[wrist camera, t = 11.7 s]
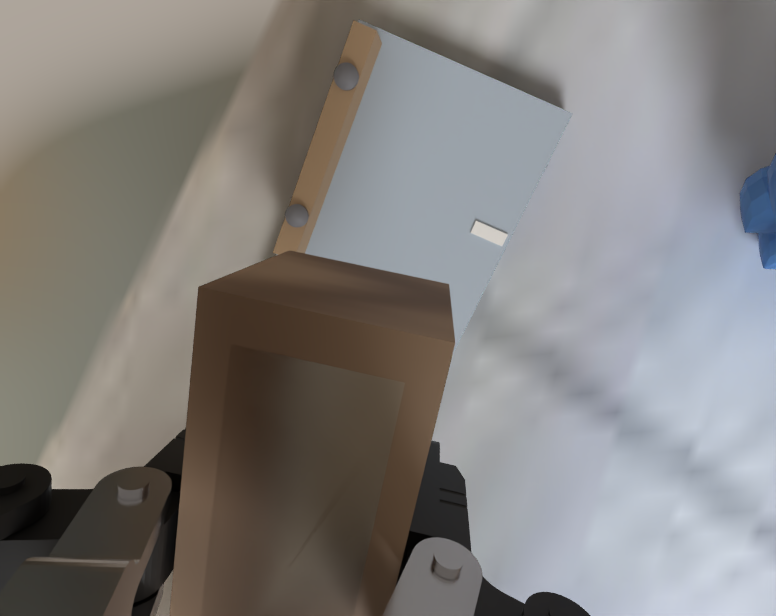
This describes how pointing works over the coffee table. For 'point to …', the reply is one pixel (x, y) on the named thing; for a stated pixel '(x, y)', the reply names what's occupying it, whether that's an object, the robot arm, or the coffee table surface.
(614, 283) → the coffee table surface
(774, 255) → the grapes
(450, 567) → the robot arm
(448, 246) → the wall panel
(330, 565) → the walnut frame
